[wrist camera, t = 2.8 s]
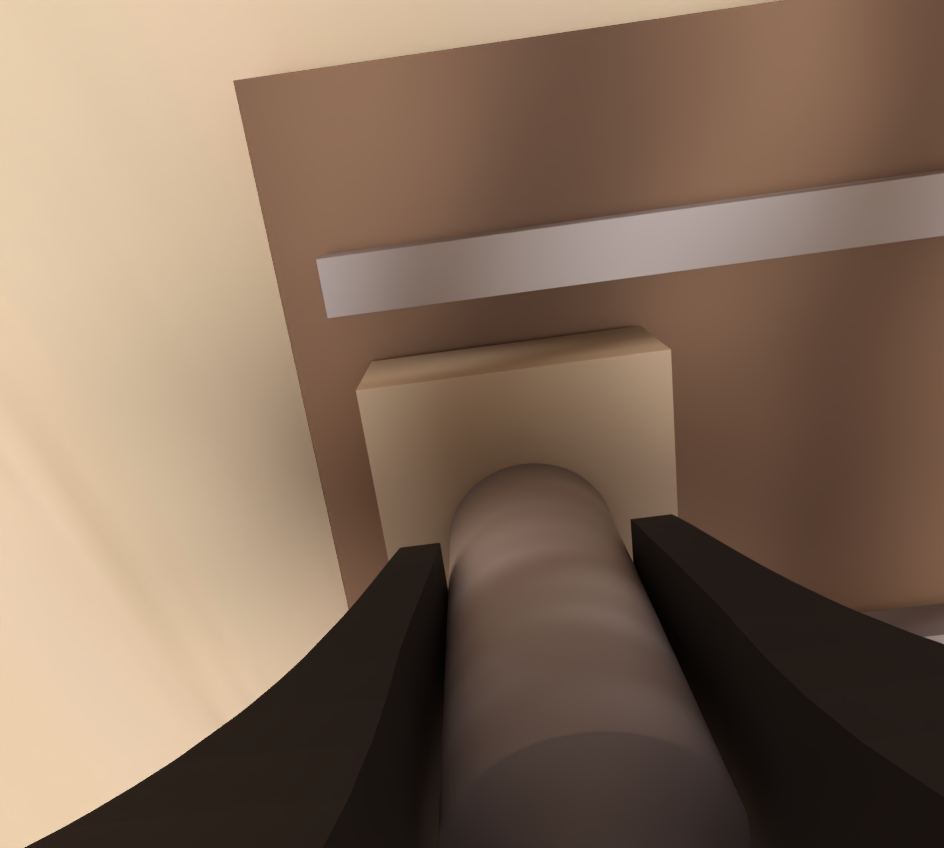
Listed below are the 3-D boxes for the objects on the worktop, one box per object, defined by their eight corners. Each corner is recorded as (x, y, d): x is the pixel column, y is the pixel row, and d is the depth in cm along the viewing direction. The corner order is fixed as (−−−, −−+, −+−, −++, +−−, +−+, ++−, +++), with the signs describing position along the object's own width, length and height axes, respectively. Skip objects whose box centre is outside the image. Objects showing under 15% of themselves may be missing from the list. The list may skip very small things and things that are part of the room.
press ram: (640, 325, 13) (897, 521, 5) (655, 606, 15) (860, 1050, 7) (371, 361, 13) (240, 602, 5) (421, 634, 15) (375, 1097, 7)
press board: (1469, -84, 12) (2031, -238, 8) (1264, 662, 17) (1538, 824, 13) (258, 92, 13) (152, 42, 9) (397, 760, 18) (376, 946, 14)
